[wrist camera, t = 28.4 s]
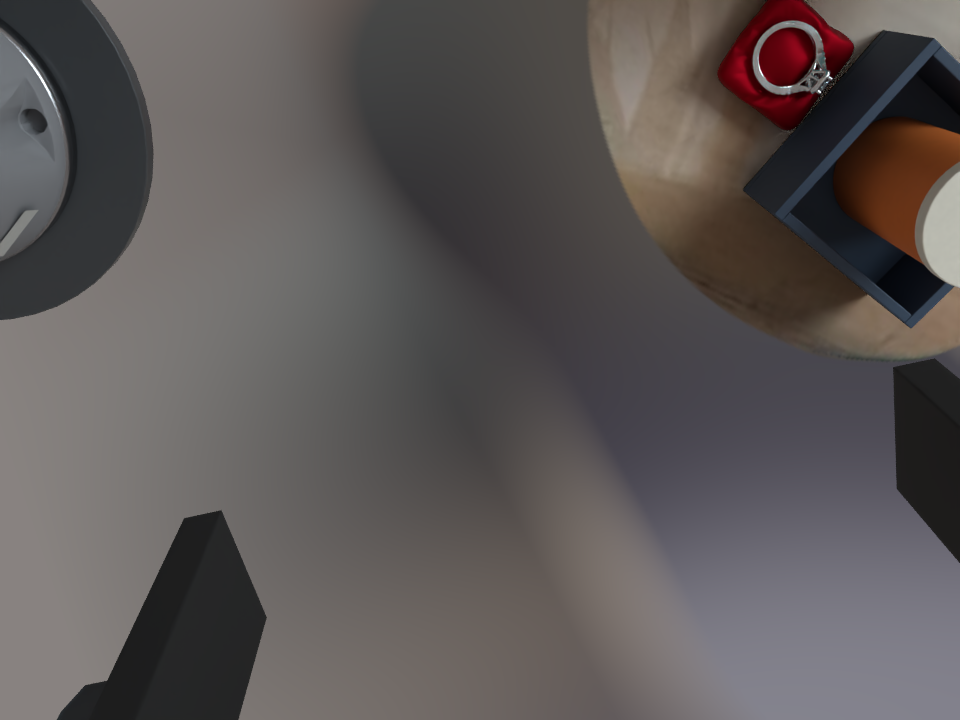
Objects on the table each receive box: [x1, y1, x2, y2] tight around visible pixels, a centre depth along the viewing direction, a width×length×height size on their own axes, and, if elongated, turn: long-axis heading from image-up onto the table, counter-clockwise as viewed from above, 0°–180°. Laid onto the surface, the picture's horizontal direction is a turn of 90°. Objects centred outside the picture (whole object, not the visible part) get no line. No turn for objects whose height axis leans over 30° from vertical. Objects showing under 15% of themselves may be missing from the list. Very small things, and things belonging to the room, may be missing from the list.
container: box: [833, 116, 960, 288], centre depth 46 cm, size 7×7×11 cm
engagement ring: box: [717, 0, 854, 130], centre depth 48 cm, size 6×6×3 cm
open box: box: [743, 30, 960, 328], centre depth 49 cm, size 11×11×6 cm
